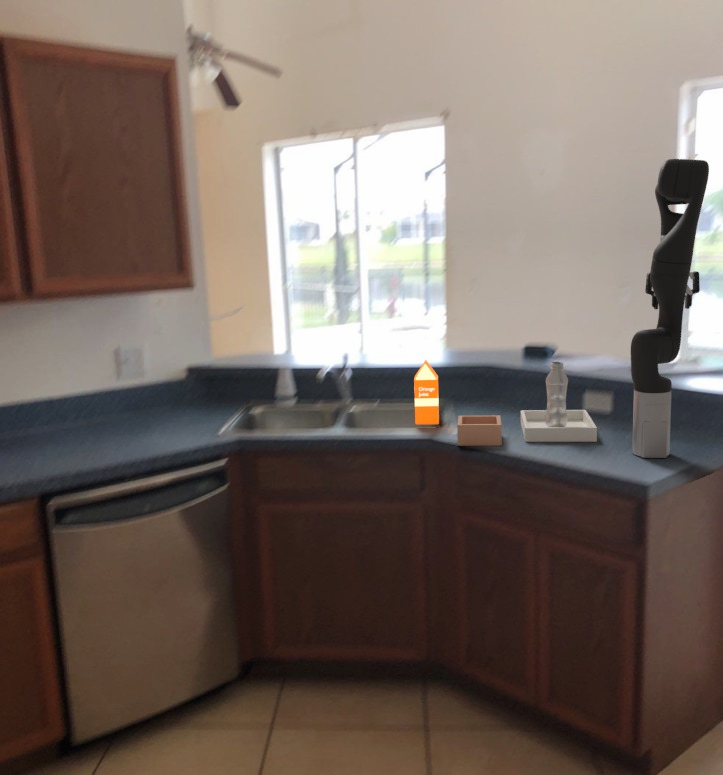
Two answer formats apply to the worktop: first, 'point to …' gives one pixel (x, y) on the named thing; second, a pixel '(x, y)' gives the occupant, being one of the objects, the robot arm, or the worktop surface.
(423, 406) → the orange juice
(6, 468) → the worktop surface
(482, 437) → the terracotta holder
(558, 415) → the plastic bottle
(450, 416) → the worktop surface
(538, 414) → the plastic tray
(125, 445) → the worktop surface
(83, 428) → the worktop surface
